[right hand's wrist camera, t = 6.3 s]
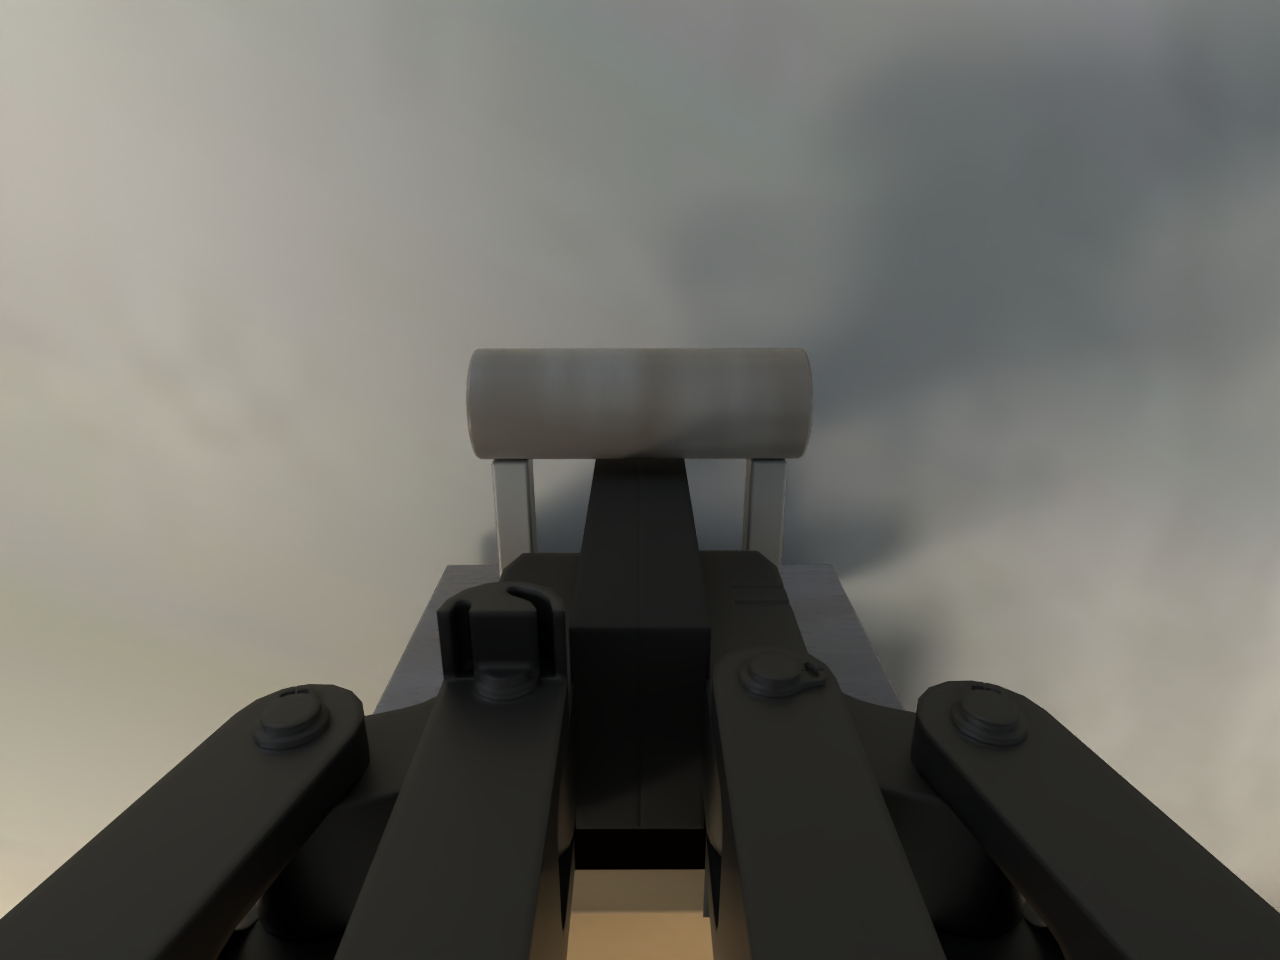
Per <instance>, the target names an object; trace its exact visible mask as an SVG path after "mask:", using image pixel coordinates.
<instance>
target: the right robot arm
mask: <svg viewBox="0 0 1280 960" xmlns="http://www.w3.org/2000/svg"><path fill="white" fill-rule="evenodd" d="M437 621H438V631H439V640H440V649H441V659H442V668H443V678H444V680H443V682H442V685H441V687H440V690H439V693H438V695H437V696H436V697H434V698H432V699H429V700H427V701H425V702H423V703H420V704H416V705H413V706H409V707H406V708H402V709H397V710H392V711H387V712H383V713H378V714H373V715H368V716H364V711H363V704H362V702H361V700H360V699H359V698H358V697H357V696H356V695H355V694H354V693H353V692H352V691H350V690H347V689H344V688H341V687H338V686H335V685H322V684H307V685H300V686H297V687H290V688H286V689H282V690H279V691H277V692H275V693H272V694H270V695H267V696H265V697H262V698H260V699H257V700H255V701H254V702H252V703H251V704H249V705H248V706H247V707H245V708H244V709H242V710H241V711H239V712H238V713H236V714H235V715H234V716H232V717H231V718H230V719H229V720H228V721H227V722H226V723H224V724H223V725H222V726H221V727H220V728H219V729H218V730H216V731H215V732H214V733H213V734H212V735H211V736H210V737H208V738H207V739H206V740H205V741H204V742H203V743H202V744H200V745H199V746H198V747H197V748H196V749H195V750H194V751H192V752H191V753H190V754H189V755H188V756H187V757H186V758H184V759H183V760H182V761H181V762H180V763H179V764H178V765H176V766H175V767H174V768H173V769H172V770H171V771H170V772H168V773H167V774H166V775H165V776H164V777H163V778H162V779H160V780H159V781H158V782H157V783H156V784H155V785H154V786H152V787H151V788H150V789H149V790H148V791H147V792H146V793H144V794H143V795H142V796H141V797H140V798H139V799H138V800H136V801H135V802H134V803H133V804H132V805H131V806H129V807H128V808H127V809H126V810H125V811H124V812H123V813H121V814H120V815H119V816H118V817H117V818H116V819H115V820H113V821H112V822H111V823H110V824H109V825H108V826H107V827H105V828H104V829H103V830H102V831H101V832H100V833H99V834H97V835H96V836H95V837H94V838H93V839H92V840H91V841H89V842H88V843H87V844H86V845H85V846H84V847H83V848H81V849H80V850H79V851H78V852H77V853H76V854H75V855H73V856H72V857H71V858H70V859H69V860H68V861H67V862H65V863H64V864H63V865H62V866H61V867H60V868H59V869H57V870H56V871H55V872H54V873H53V874H52V875H51V876H49V877H48V878H47V879H46V880H45V881H44V882H43V883H41V884H40V885H39V886H38V887H37V888H36V889H35V890H33V891H32V892H31V893H30V894H29V895H28V896H27V897H25V898H24V899H23V900H22V901H21V902H20V903H19V904H17V905H16V906H15V907H14V908H13V909H12V910H11V911H9V912H8V913H7V914H6V915H5V916H4V917H3V918H1V919H0V960H567V950H568V939H569V928H570V917H571V906H572V895H573V884H574V873H575V852H574V825H575V815H576V829H704V811H705V820H706V852H705V878H704V903H703V917H710V927H711V938H712V948H713V959H714V960H1280V913H1279V912H1278V911H1276V910H1275V909H1274V908H1273V907H1272V906H1271V905H1269V904H1268V903H1267V902H1266V901H1265V900H1264V899H1263V898H1261V897H1260V896H1259V895H1258V894H1257V893H1256V892H1254V891H1253V890H1252V889H1251V888H1250V887H1249V886H1248V885H1246V884H1245V883H1244V882H1243V881H1242V880H1241V879H1239V878H1238V877H1237V876H1236V875H1235V874H1234V873H1233V872H1231V871H1230V870H1229V869H1228V868H1227V867H1226V866H1224V865H1223V864H1222V863H1221V862H1220V861H1219V860H1218V859H1216V858H1215V857H1214V856H1213V855H1212V854H1211V853H1209V852H1208V851H1207V850H1206V849H1205V848H1204V847H1203V846H1201V845H1200V844H1199V843H1198V842H1197V841H1196V840H1195V839H1193V838H1192V837H1191V836H1190V835H1189V834H1188V833H1186V832H1185V831H1184V830H1183V829H1182V828H1181V827H1180V826H1178V825H1177V824H1176V823H1175V822H1174V821H1173V820H1171V819H1170V818H1169V817H1168V816H1167V815H1166V814H1165V813H1163V812H1162V811H1161V810H1160V809H1159V808H1158V807H1156V806H1155V805H1154V804H1153V803H1152V802H1151V801H1150V800H1148V799H1147V798H1146V797H1145V796H1144V795H1143V794H1141V793H1140V792H1139V791H1138V790H1137V789H1136V788H1135V787H1133V786H1132V785H1131V784H1130V783H1129V782H1128V781H1126V780H1125V779H1124V778H1123V777H1122V776H1121V775H1120V774H1118V773H1117V772H1116V771H1115V770H1114V769H1113V768H1111V767H1110V766H1109V765H1108V764H1107V763H1106V762H1105V761H1103V760H1102V759H1101V758H1100V757H1099V756H1098V755H1096V754H1095V753H1094V752H1093V751H1092V750H1091V749H1090V748H1088V747H1087V746H1086V745H1085V744H1084V743H1083V742H1081V741H1080V740H1079V739H1078V738H1077V737H1076V736H1075V735H1073V734H1072V733H1071V732H1070V731H1069V730H1068V729H1067V728H1065V727H1064V726H1063V725H1062V724H1061V723H1060V722H1058V721H1057V720H1056V719H1055V718H1054V717H1053V716H1052V715H1050V714H1049V713H1048V712H1047V711H1046V710H1044V709H1043V708H1041V707H1040V706H1038V705H1037V704H1035V703H1034V702H1032V701H1031V700H1029V699H1028V698H1026V697H1025V696H1023V695H1020V694H1018V693H1015V692H1013V691H1010V690H1008V689H1005V688H1003V687H1000V686H997V685H993V684H989V683H983V682H976V681H947V682H944V683H941V684H938V685H935V686H932V687H929V688H928V689H927V690H926V691H925V692H924V693H923V694H922V695H921V696H920V698H919V699H918V704H917V711H916V713H914V712H909V711H904V710H899V709H894V708H889V707H885V706H880V705H876V704H872V703H869V702H865V701H862V700H858V699H856V698H854V697H852V696H849V695H847V694H845V693H842V691H841V689H840V686H839V684H838V681H837V679H836V677H835V676H834V674H833V673H832V672H831V670H830V669H829V668H828V666H827V665H826V664H825V663H823V662H821V661H820V660H818V659H817V658H815V657H814V656H812V655H811V654H809V653H808V652H807V649H806V646H805V643H804V640H803V638H802V635H801V632H800V629H799V626H798V624H797V621H796V618H795V615H794V613H793V610H792V607H791V604H789V599H788V596H787V593H786V590H785V589H784V585H783V582H782V579H781V576H780V573H779V571H778V568H777V566H776V565H775V564H773V563H772V562H771V561H770V560H768V559H767V558H766V557H765V556H763V555H762V554H761V553H760V552H759V551H699V549H698V542H697V536H696V530H695V524H694V517H693V511H692V505H691V499H690V493H689V486H688V480H687V474H686V468H685V461H684V459H596V462H595V468H594V474H593V480H592V487H591V493H590V499H589V505H588V511H587V518H586V524H585V530H584V536H583V543H582V549H581V553H522V554H521V555H520V556H519V557H517V558H516V559H515V560H514V561H512V562H511V563H510V564H509V565H508V566H506V567H505V568H504V569H503V571H502V574H501V577H500V580H499V582H493V583H485V584H482V585H478V586H475V587H471V588H468V589H465V590H463V591H461V592H459V593H457V594H456V595H454V596H452V597H450V598H448V599H447V600H446V601H445V602H444V603H443V605H442V606H441V607H440V608H439V609H438V610H437Z"/></svg>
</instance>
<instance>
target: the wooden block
mask: <svg viewBox="0 0 1280 960" xmlns="http://www.w3.org/2000/svg"><path fill="white" fill-rule="evenodd" d="M704 878H705V869H653V870H575V873H574V884H573V895H572V906H571V917H570V928H569V939H568V950H567V960H714V959H713V948H712V938H711V927H710V917H703V903H704Z"/></svg>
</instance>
